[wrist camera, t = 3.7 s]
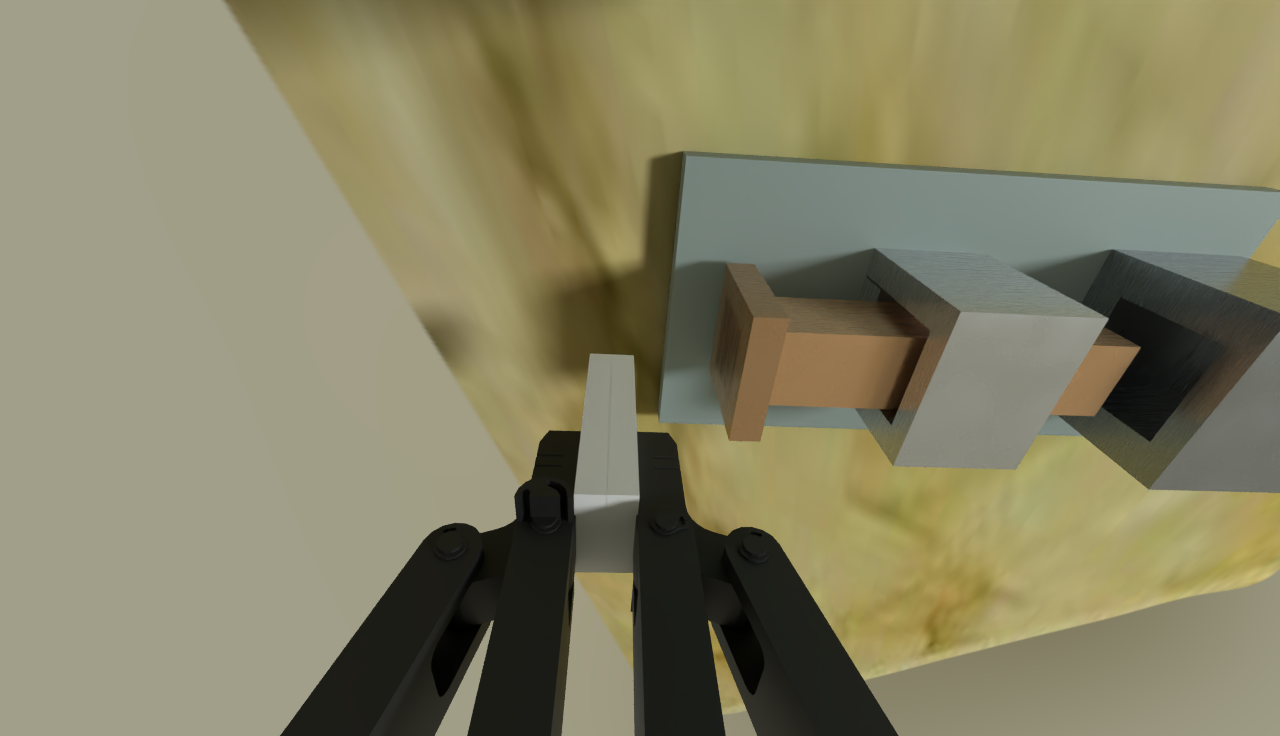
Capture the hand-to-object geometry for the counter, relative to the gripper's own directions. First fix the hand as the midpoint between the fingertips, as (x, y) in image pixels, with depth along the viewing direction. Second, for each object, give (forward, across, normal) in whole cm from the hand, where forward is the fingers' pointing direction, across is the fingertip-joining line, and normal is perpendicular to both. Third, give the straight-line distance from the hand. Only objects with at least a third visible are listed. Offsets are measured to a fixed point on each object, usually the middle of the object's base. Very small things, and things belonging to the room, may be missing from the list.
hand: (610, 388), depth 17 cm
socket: (+6, +25, 0) cm, 25 cm away
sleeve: (+6, +14, 0) cm, 15 cm away
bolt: (+5, +12, 0) cm, 13 cm away
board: (+7, +15, 0) cm, 17 cm away
